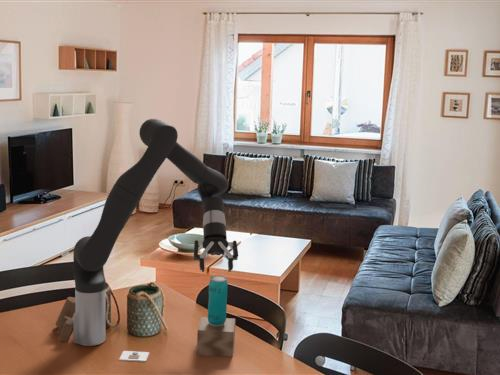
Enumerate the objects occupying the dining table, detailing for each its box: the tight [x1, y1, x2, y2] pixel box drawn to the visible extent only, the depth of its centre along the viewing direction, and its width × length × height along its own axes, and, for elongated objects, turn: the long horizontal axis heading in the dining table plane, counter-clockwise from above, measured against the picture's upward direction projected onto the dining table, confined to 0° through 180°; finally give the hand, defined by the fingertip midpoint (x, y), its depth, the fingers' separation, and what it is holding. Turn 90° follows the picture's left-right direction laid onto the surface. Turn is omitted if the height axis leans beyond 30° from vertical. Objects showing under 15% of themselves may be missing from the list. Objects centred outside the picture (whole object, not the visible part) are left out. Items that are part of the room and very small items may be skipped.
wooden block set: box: [55, 296, 75, 343], centre depth 217 cm, size 18×9×10 cm, turn 179°
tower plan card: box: [118, 350, 150, 363], centre depth 201 cm, size 8×6×1 cm
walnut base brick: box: [196, 316, 236, 358], centre depth 208 cm, size 11×11×8 cm
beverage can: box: [207, 275, 229, 327], centre depth 206 cm, size 6×6×15 cm
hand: (216, 270), depth 211 cm, fingers open, 8 cm apart
